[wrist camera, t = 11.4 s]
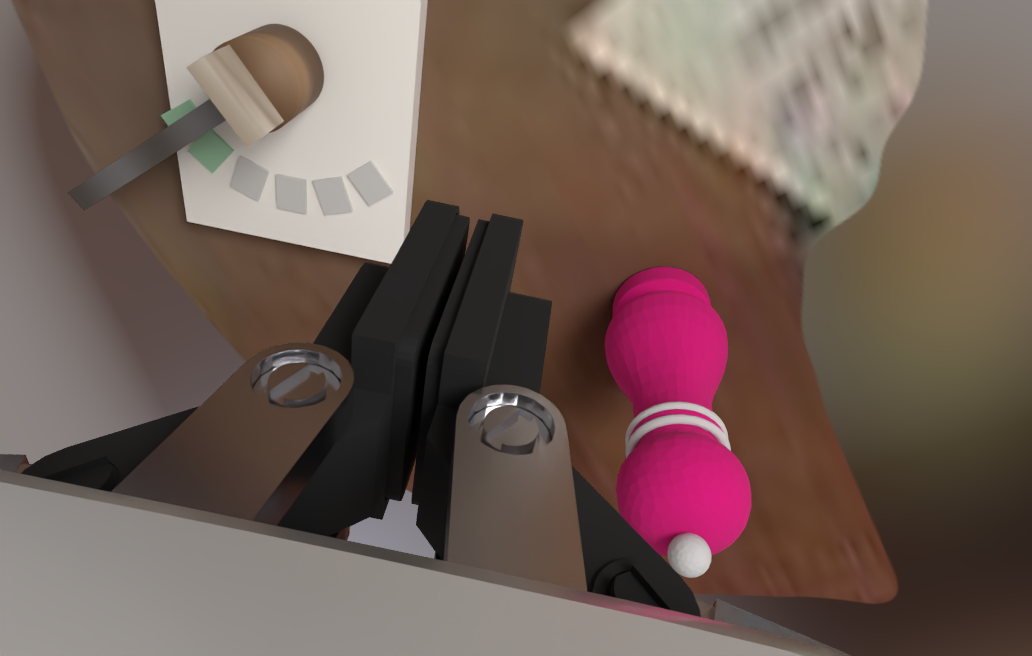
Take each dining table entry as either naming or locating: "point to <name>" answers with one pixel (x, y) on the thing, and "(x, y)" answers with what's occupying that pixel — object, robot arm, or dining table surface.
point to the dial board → (308, 125)
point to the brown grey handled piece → (228, 101)
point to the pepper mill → (675, 420)
